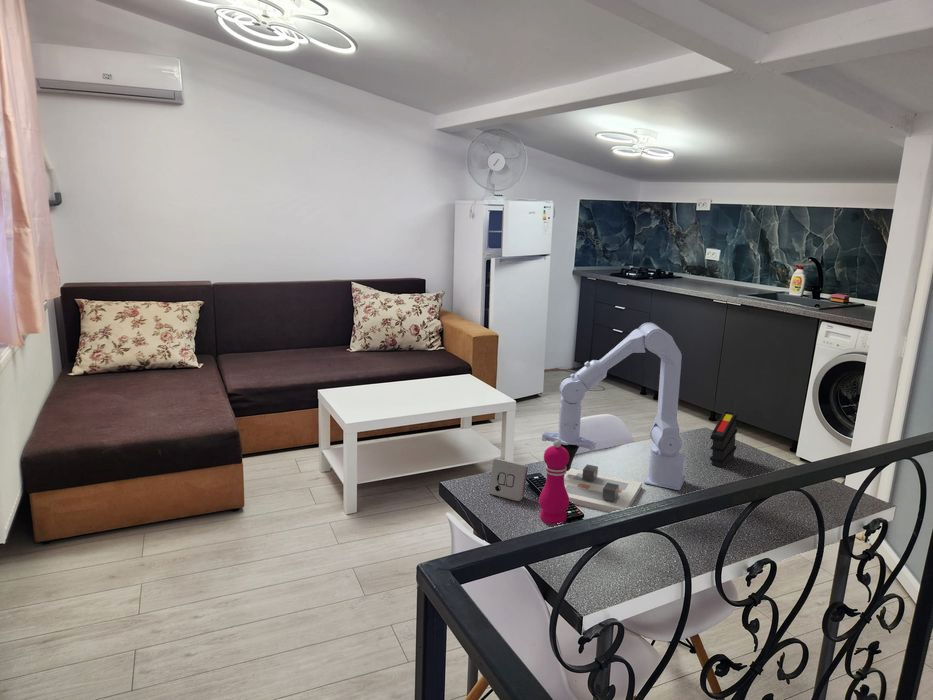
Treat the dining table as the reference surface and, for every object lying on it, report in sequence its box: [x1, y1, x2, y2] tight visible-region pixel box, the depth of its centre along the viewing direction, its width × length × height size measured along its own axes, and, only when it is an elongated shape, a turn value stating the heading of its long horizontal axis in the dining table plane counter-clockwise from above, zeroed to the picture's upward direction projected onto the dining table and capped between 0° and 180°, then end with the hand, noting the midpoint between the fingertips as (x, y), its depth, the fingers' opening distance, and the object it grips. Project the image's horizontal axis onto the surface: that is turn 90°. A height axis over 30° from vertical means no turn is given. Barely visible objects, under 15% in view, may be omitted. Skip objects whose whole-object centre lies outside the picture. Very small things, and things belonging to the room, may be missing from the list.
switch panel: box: [564, 467, 643, 513], centre depth 173 cm, size 20×18×2 cm
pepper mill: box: [538, 440, 570, 525], centre depth 157 cm, size 7×7×20 cm
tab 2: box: [602, 483, 619, 501], centre depth 166 cm, size 3×4×3 cm
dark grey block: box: [582, 464, 599, 481], centre depth 178 cm, size 3×4×3 cm
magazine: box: [709, 410, 738, 468], centre depth 195 cm, size 4×13×15 cm, turn 140°
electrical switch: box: [488, 458, 529, 502], centre depth 171 cm, size 9×5×9 cm, turn 60°
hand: (566, 469), depth 181 cm, fingers closed
